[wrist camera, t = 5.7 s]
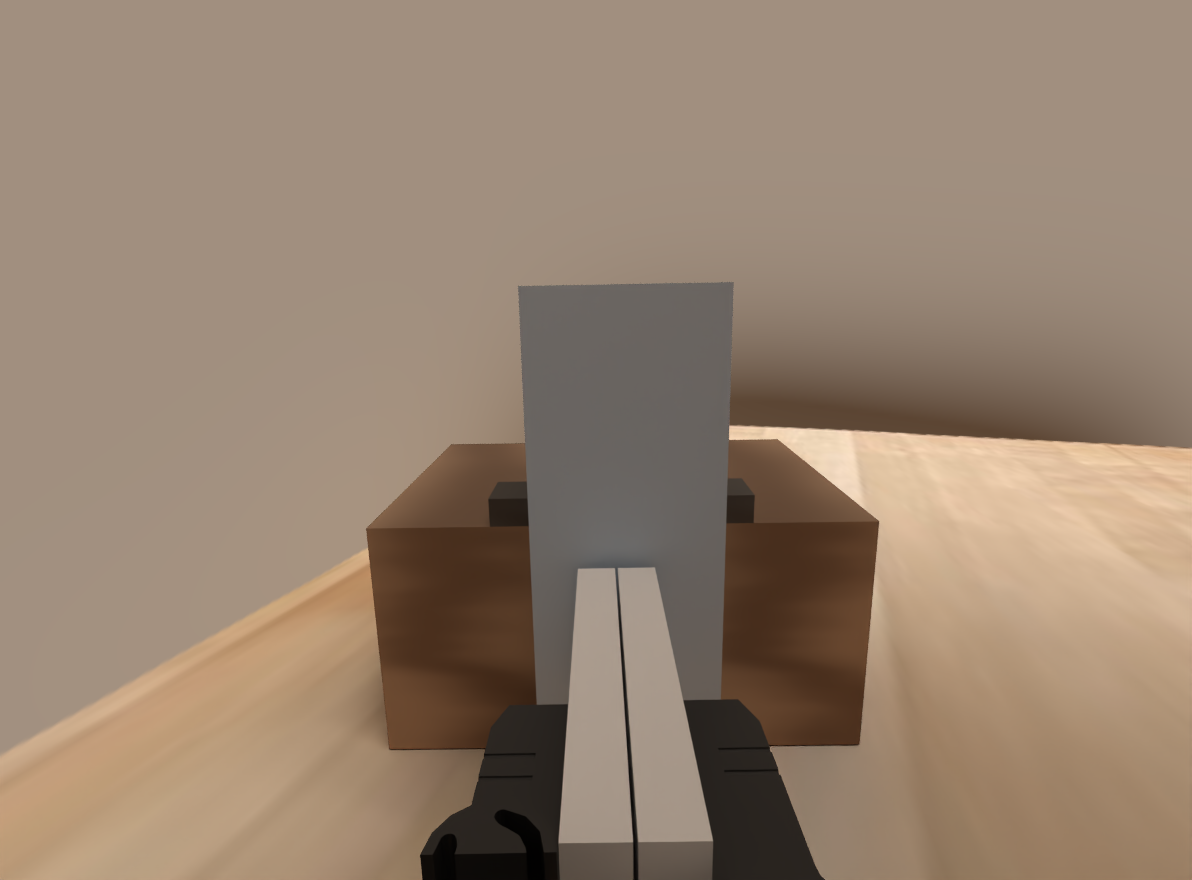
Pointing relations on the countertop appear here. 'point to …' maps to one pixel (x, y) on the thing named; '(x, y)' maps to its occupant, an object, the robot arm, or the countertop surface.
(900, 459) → the countertop surface
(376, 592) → the socket block
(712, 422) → the peg
